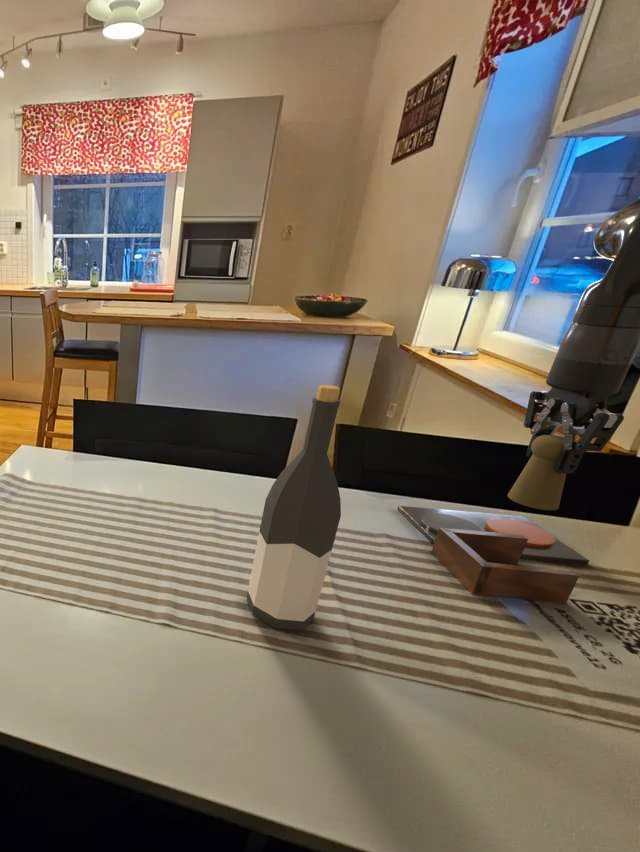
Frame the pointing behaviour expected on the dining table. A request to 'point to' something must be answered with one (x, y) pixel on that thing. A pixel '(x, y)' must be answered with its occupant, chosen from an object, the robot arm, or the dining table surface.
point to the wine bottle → (298, 527)
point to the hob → (538, 539)
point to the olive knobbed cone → (541, 476)
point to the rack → (499, 566)
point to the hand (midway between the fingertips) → (547, 464)
